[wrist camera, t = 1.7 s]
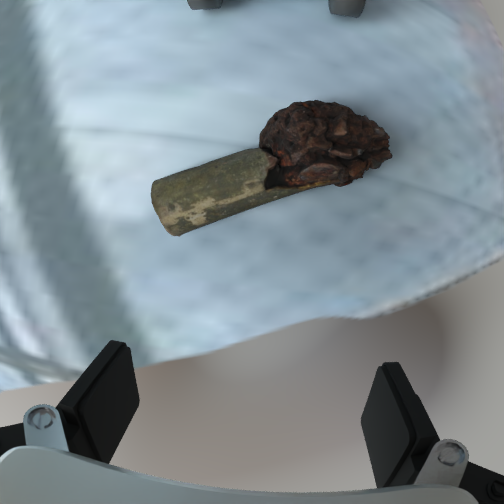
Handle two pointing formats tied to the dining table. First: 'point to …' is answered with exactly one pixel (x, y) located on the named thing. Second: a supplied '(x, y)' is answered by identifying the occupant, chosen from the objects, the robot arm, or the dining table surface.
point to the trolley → (340, 3)
